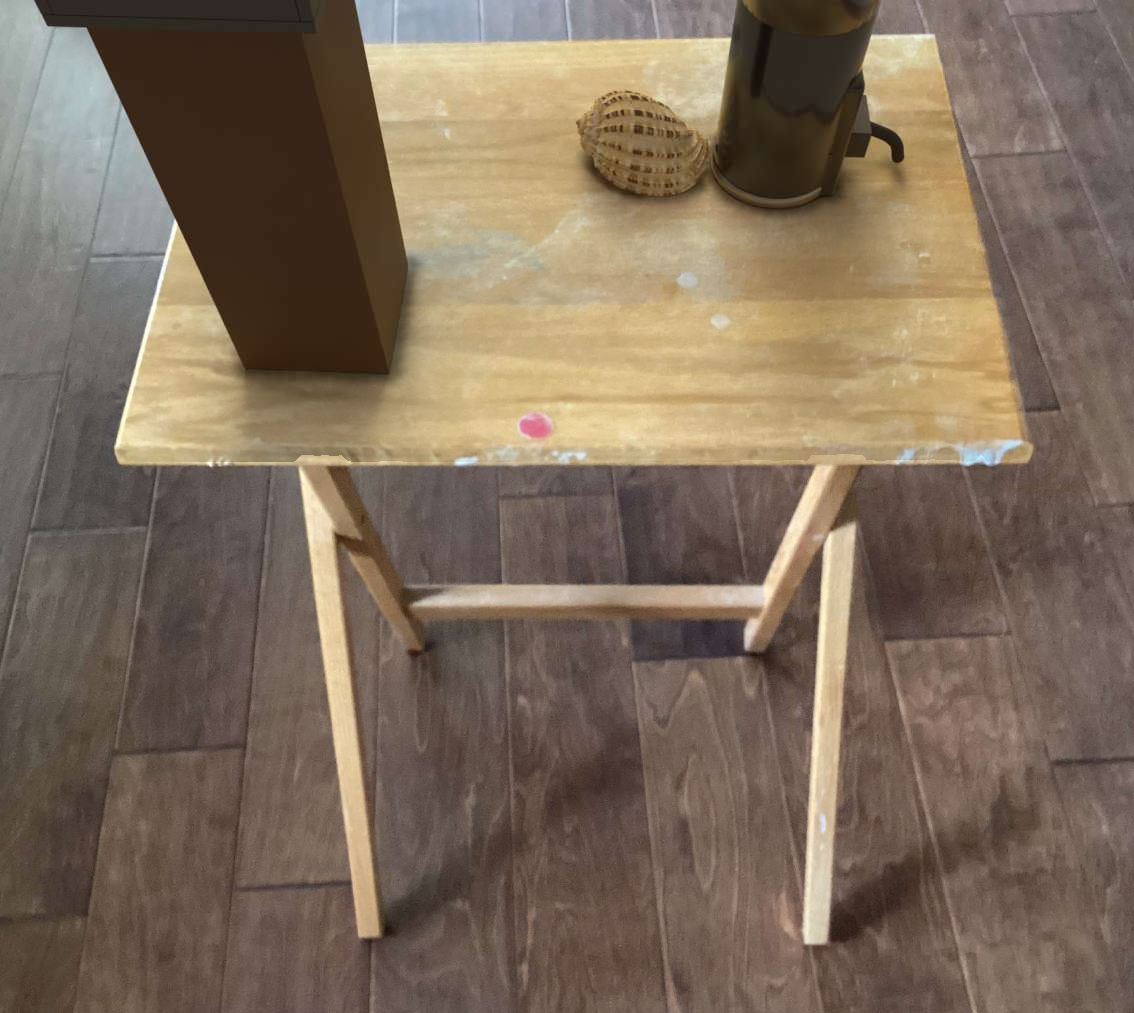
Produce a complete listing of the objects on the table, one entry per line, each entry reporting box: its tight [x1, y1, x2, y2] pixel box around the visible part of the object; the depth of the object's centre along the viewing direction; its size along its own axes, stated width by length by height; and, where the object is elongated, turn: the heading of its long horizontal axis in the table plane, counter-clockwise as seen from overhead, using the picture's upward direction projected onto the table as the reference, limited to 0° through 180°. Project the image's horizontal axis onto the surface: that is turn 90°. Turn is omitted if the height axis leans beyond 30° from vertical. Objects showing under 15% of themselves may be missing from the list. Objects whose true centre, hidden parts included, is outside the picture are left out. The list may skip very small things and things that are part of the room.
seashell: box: [575, 89, 712, 197], centre depth 75 cm, size 8×6×10 cm
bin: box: [33, 0, 409, 374], centre depth 56 cm, size 12×12×32 cm
